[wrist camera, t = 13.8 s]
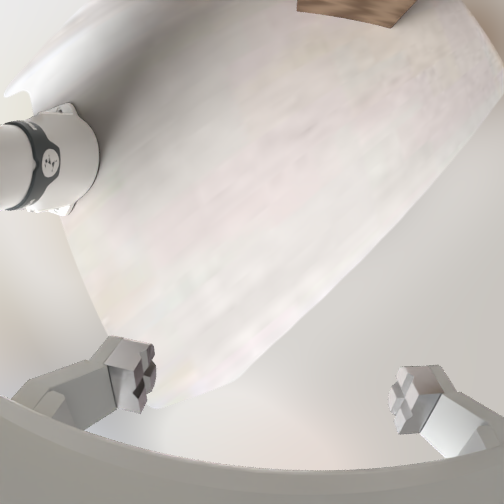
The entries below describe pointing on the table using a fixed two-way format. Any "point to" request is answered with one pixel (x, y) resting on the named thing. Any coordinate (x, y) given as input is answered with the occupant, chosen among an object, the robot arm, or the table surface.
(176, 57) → the table surface
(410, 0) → the plinth
